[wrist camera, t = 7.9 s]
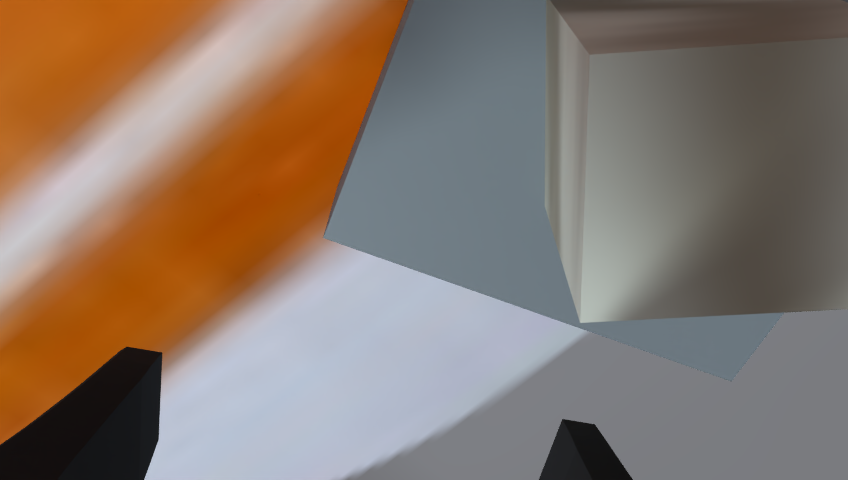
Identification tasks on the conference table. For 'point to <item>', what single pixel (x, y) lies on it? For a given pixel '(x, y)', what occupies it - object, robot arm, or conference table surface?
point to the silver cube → (698, 155)
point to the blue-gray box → (487, 177)
